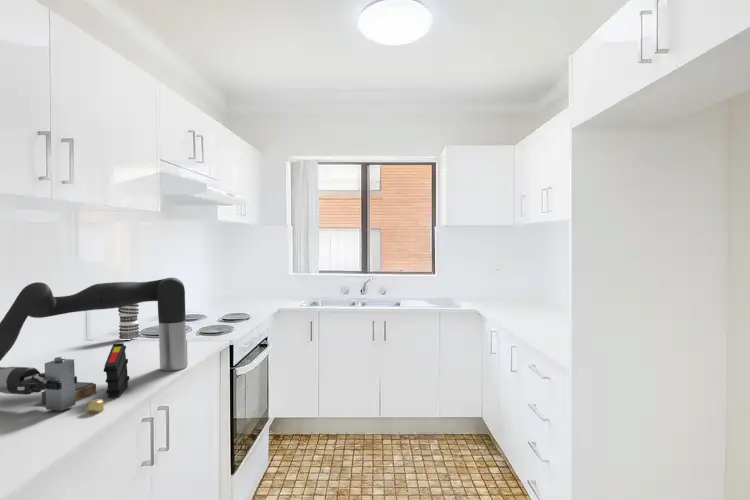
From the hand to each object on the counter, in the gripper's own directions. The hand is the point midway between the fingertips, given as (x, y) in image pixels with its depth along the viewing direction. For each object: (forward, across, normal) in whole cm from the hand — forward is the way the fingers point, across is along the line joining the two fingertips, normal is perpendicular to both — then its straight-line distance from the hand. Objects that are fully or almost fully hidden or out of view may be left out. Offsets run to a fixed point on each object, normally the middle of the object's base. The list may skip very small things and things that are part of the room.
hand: (68, 382), depth 143 cm
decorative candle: (-49, -92, -9) cm, 104 cm away
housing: (-3, 0, -7) cm, 7 cm away
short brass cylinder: (+8, 0, -8) cm, 12 cm away
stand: (-9, -10, -8) cm, 15 cm away
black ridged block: (+3, -15, -8) cm, 18 cm away
